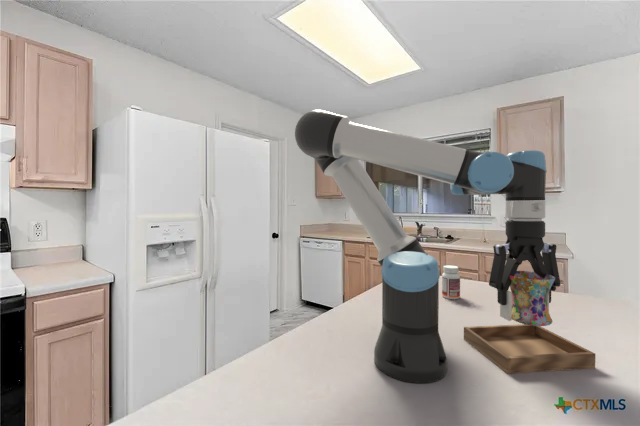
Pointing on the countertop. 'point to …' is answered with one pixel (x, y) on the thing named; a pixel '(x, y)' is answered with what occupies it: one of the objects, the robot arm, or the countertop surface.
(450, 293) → the pill bottle
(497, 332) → the tray
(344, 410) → the countertop surface
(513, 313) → the mug
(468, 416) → the countertop surface
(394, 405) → the countertop surface
